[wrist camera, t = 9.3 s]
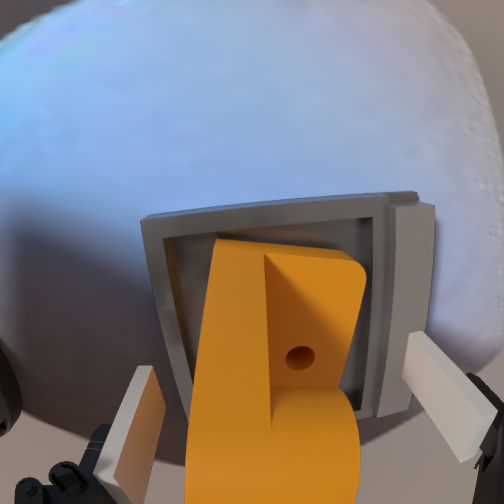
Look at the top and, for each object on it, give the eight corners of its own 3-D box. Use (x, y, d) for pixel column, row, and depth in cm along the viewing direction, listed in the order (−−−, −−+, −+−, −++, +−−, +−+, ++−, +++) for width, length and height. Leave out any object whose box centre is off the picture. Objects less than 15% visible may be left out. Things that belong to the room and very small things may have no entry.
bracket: (315, 401, 20) (361, 554, 8) (207, 396, 19) (192, 564, 8) (351, 247, 17) (500, 374, 5) (217, 234, 16) (174, 389, 5)
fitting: (196, 422, 20) (193, 446, 18) (149, 214, 17) (135, 222, 14) (394, 393, 21) (406, 414, 18) (412, 191, 17) (434, 195, 14)
